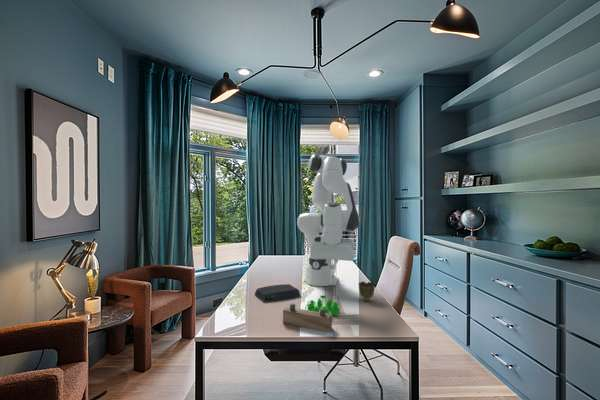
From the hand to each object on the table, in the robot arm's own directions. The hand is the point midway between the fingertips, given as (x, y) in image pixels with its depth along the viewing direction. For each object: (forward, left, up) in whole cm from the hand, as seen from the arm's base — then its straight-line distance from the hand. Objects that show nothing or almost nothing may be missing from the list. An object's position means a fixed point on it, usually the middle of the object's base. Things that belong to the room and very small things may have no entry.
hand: (332, 269), depth 141 cm
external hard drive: (+2, -27, -16) cm, 31 cm away
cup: (-9, +14, -15) cm, 23 cm away
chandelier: (+13, +1, -16) cm, 20 cm away
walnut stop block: (+29, 0, -15) cm, 32 cm away
